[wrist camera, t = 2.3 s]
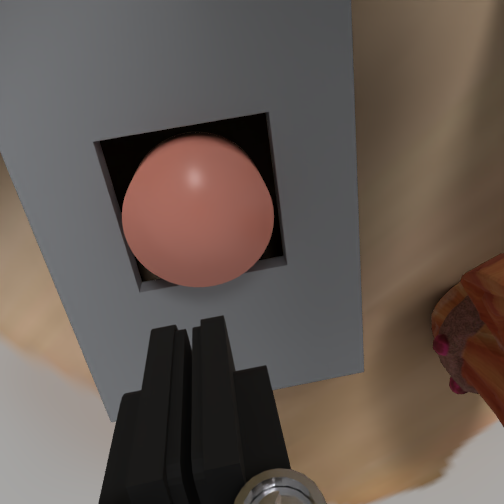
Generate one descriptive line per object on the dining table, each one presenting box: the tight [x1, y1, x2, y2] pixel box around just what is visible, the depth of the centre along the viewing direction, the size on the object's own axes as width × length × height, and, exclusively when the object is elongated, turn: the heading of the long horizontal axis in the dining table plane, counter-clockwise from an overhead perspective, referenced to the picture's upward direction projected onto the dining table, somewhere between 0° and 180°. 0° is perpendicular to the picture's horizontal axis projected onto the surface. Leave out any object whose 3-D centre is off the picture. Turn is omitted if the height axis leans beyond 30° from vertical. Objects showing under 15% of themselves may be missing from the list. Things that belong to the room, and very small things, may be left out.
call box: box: [0, 0, 364, 422], centre depth 21 cm, size 22×14×6 cm, turn 8°
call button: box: [122, 132, 274, 287], centre depth 18 cm, size 6×6×3 cm
